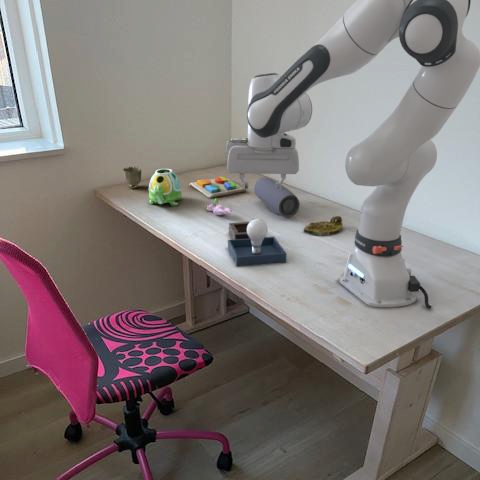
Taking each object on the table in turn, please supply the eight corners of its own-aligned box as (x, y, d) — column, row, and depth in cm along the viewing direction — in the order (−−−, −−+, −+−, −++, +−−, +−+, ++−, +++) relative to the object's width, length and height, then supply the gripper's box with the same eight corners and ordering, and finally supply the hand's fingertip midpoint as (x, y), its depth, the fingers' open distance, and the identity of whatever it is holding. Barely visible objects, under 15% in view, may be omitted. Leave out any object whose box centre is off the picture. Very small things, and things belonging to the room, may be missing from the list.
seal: (311, 241, 169) (348, 233, 174) (313, 228, 166) (351, 221, 171) (297, 228, 175) (333, 221, 181) (299, 216, 172) (336, 209, 178)
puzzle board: (211, 199, 200) (211, 190, 198) (188, 186, 213) (187, 178, 211) (247, 192, 208) (247, 184, 206) (223, 180, 221) (223, 172, 219)
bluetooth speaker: (300, 219, 183) (302, 192, 178) (276, 222, 180) (278, 194, 175) (273, 199, 201) (275, 174, 196) (252, 202, 198) (253, 176, 193)
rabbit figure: (201, 213, 190) (221, 219, 178) (200, 197, 187) (220, 202, 176) (216, 210, 193) (236, 216, 181) (215, 195, 190) (235, 200, 178)
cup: (124, 185, 212) (121, 166, 208) (141, 184, 214) (139, 165, 210) (126, 191, 206) (124, 171, 202) (144, 189, 208) (142, 170, 204)
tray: (285, 262, 152) (286, 253, 150) (236, 266, 149) (236, 257, 147) (273, 245, 163) (274, 236, 161) (227, 248, 160) (227, 239, 158)
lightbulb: (270, 252, 157) (272, 218, 151) (259, 259, 152) (261, 225, 146) (252, 247, 160) (254, 214, 154) (242, 254, 155) (242, 220, 149)
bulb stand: (265, 244, 164) (265, 232, 161) (234, 246, 162) (235, 234, 159) (257, 232, 172) (257, 221, 170) (228, 234, 170) (228, 223, 168)
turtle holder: (141, 210, 188) (139, 178, 181) (155, 195, 203) (152, 165, 196) (174, 212, 186) (172, 180, 180) (185, 197, 202) (184, 167, 195)
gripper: (225, 140, 136) (225, 191, 143) (301, 141, 135) (298, 192, 142) (226, 135, 141) (226, 185, 148) (299, 136, 141) (296, 186, 148)
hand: (262, 188), depth 145 cm, fingers open, 8 cm apart
